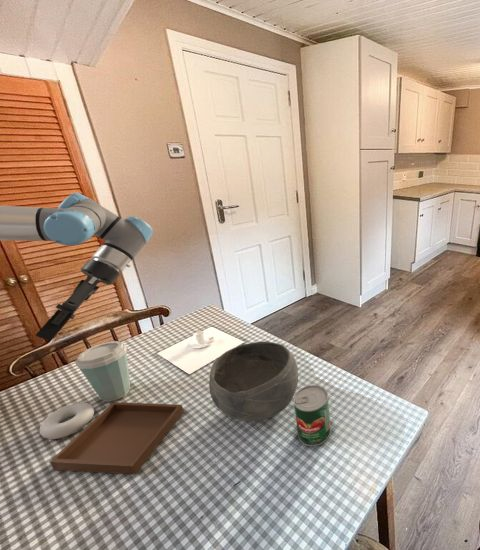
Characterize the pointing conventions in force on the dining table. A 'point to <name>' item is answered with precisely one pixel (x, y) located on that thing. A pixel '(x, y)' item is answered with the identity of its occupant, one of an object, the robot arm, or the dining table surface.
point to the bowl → (253, 381)
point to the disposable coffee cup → (106, 369)
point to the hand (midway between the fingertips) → (43, 338)
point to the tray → (119, 438)
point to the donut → (57, 429)
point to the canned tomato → (312, 415)
